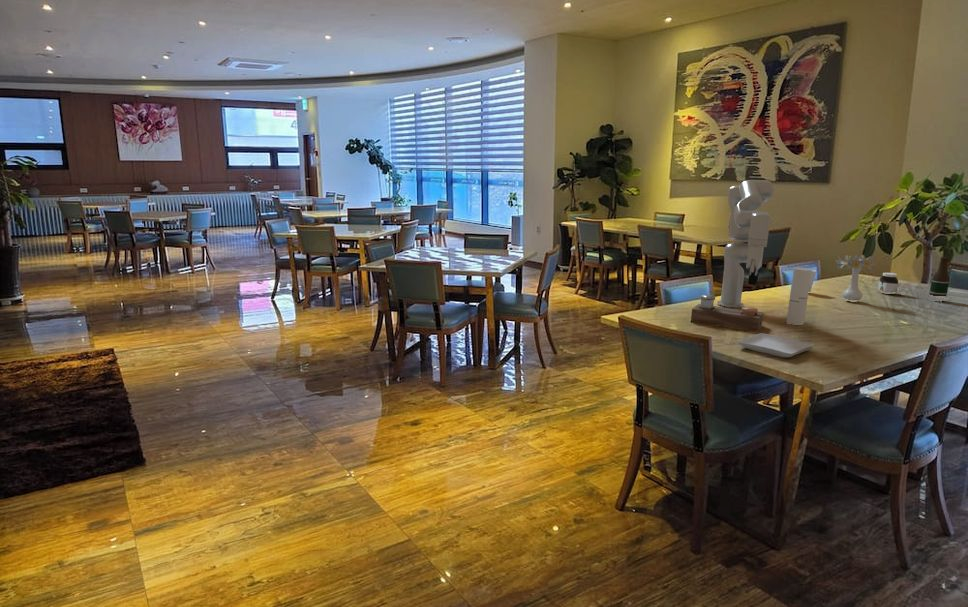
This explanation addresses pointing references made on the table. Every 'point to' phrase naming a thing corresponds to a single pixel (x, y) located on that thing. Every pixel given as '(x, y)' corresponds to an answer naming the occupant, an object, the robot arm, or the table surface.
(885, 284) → the spread jar
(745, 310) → the terracotta plunger
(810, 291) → the foam cup
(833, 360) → the table surface
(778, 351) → the salad plate
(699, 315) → the button stand
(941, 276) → the beer bottle
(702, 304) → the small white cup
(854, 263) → the flower vase
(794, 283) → the white tall box
